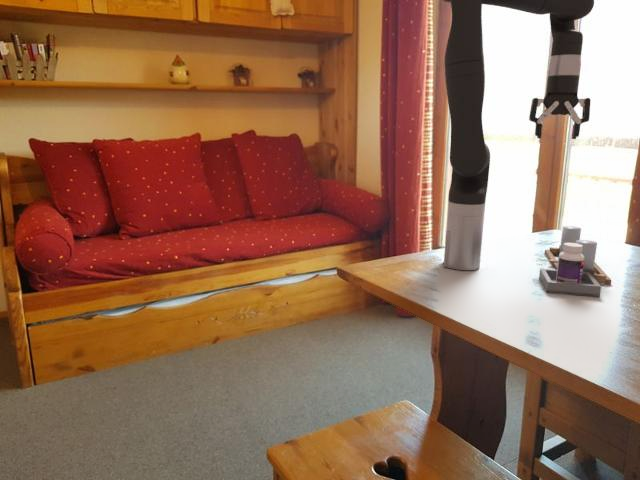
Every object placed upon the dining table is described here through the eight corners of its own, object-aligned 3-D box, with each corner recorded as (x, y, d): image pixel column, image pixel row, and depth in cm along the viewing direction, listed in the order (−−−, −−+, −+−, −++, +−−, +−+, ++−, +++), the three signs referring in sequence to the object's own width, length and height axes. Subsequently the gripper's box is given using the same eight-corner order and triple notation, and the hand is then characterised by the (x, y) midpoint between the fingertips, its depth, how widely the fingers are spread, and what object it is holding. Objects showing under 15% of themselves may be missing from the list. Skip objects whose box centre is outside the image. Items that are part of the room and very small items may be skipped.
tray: (546, 292, 117) (547, 282, 116) (539, 278, 127) (540, 268, 126) (599, 297, 114) (601, 286, 113) (587, 282, 124) (589, 272, 124)
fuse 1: (560, 260, 143) (564, 228, 140) (557, 256, 147) (561, 225, 145) (578, 261, 142) (582, 230, 139) (574, 257, 146) (579, 226, 144)
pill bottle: (583, 289, 117) (589, 248, 115) (558, 287, 118) (563, 246, 116) (576, 281, 122) (582, 242, 120) (552, 280, 123) (557, 241, 121)
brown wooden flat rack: (557, 280, 125) (559, 268, 125) (541, 253, 150) (542, 243, 149) (610, 284, 123) (612, 272, 122) (585, 256, 147) (586, 246, 146)
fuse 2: (573, 279, 127) (578, 243, 124) (569, 273, 131) (574, 239, 129) (594, 280, 125) (599, 244, 123) (589, 275, 130) (594, 240, 128)
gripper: (536, 73, 131) (529, 138, 135) (597, 73, 127) (589, 139, 131) (532, 76, 138) (526, 137, 142) (590, 75, 134) (582, 138, 138)
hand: (556, 138), depth 136 cm, fingers open, 8 cm apart
